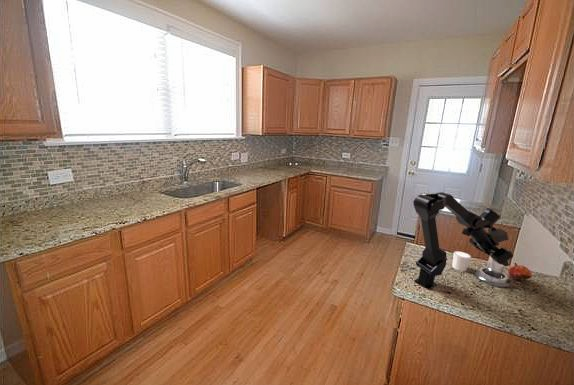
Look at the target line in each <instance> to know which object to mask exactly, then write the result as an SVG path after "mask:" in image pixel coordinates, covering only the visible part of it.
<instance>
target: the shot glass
mask: <svg viewBox="0 0 574 385" xmlns="http://www.w3.org/2000/svg"><path fill="white" fill-rule="evenodd" d="M471 258H472V255H471V254H469V253H467V252H465V251H464V252H463V251H460V250H459V251H457V250H455V251H453V256H452V264H451V266H452V268H453V269H455V270H457V271H460V272H466V271H467V270H468V267H469V264H470V262H471V260H472V259H471Z"/></svg>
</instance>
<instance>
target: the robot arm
mask: <svg viewBox="0 0 574 385" xmlns="http://www.w3.org/2000/svg"><path fill="white" fill-rule="evenodd" d="M413 207H414V209H415V212H416V214H417V215H418V217H420V221H421V227H422V228H421V229H422V233H423V234H422V235H423V240H424V247H425V248H424V249H423V251H422V254H421V256H420V257H419V258H418V259H416V261H415V264H416V266H417V267H418V268H420V269H419V273H418V278H416V279H414V282H415V283H416V284H418V285H420V286H422V287H424V288H425V289H426V290H430V289H432V288H434V287H436V286H438V283H436V282H435V280H436V279H435V278H436V277H437V276H441V275H442V273H443V272H444V270H445V268H446V266H447V261H448V258H447V252H446V250H443V249H441V247H440V242H439V236H438V228H437V219H436V217H437V216H438V214H439V213H440V211H441V210H444V209H445V208H446V209H448V211H450V213H452V214H453V215H454V216H455V219H456V221H457V222H458V224H460V225H462V226H465V228H464V227H463V230H462V232H461V235H464V236H467V237H470V238H469V243H470V244H471V245H472V246H473V247H474V248H476V249H477V250H478V251H481V252H482V253H484V254H486V255H488V257H489V256H490V252H491V251H493V252H494V253H492V255H491V258H492V259H493V260H494V261H496V262H497V263H499V264H502V265H504V267H508V266H509V262H508V261H509V260H510V259H512V258H514V256H515V255H514V253H513V252H512V251H511V250H509V249H508V248H506V247H498V246H499V245H500V243H501V242H504V241H509V238H510V237H509V234H508V232H507V231H506V230H504V229H501V228H498V227H497V228H496V227H494V225H495V224H496V223H498V221H499V220H500V219H501V216H500V214H498V213H497V212H495V211H493V209H492V208H489V207H487V208H485V209H484V211H483V212H482V213H481V214H480V215H478V214H476V213H474V212H471V211H470V210H468V209H467V208H466V207H464V206H463V205H462V203H460V202H458V200H456V198H454V196H453V195H452V194H449V193H446V192H443V191H442V192H435V193H426V194H425V193H424V194H418V195H417V196H416V197H415V198H414V199H413ZM486 229H488V230H487V231H486ZM499 248H500V249H499Z"/></svg>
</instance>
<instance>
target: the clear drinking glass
mask: <svg viewBox="0 0 574 385" xmlns="http://www.w3.org/2000/svg"><path fill="white" fill-rule="evenodd" d="M498 248H499V249H500V248H501V247H498ZM492 253H494V252H493V251H491V252H490V256H489V255H488V261H487V264H486V271H485V274H487V275H489V276H491V277H495V278H500V279H501V276H502V273H504V268H505V266H504V265H502V264H499V263H497V262H496V261H494V260H493V259H492V258H491V255H492Z"/></svg>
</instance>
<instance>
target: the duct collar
mask: <svg viewBox="0 0 574 385" xmlns="http://www.w3.org/2000/svg"><path fill="white" fill-rule="evenodd" d="M486 267H487V266H486ZM486 267H485V266H482V267H480V268H479V269H477V270H476V271H475V273H474V275H475V277H476V279H478V280H479V281H481V282H482V283H484V284H487V285H490V286H493V287H497V288H504V289H505V288H509V287H510V285H511V281H510V280H509V277H508V275H507V274H506V273H504V272H503V273H502V276H501V279H500V278H495V277H491V276H489V275H487V274H485V271H486Z"/></svg>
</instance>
